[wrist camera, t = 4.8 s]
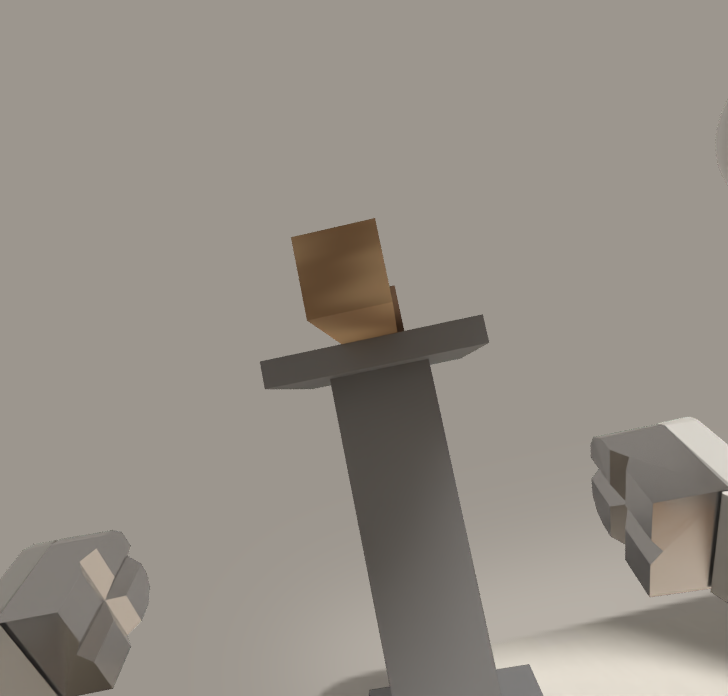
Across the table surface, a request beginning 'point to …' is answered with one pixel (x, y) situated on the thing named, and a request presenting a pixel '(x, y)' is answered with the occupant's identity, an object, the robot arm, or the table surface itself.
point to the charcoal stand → (409, 506)
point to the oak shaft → (346, 282)
